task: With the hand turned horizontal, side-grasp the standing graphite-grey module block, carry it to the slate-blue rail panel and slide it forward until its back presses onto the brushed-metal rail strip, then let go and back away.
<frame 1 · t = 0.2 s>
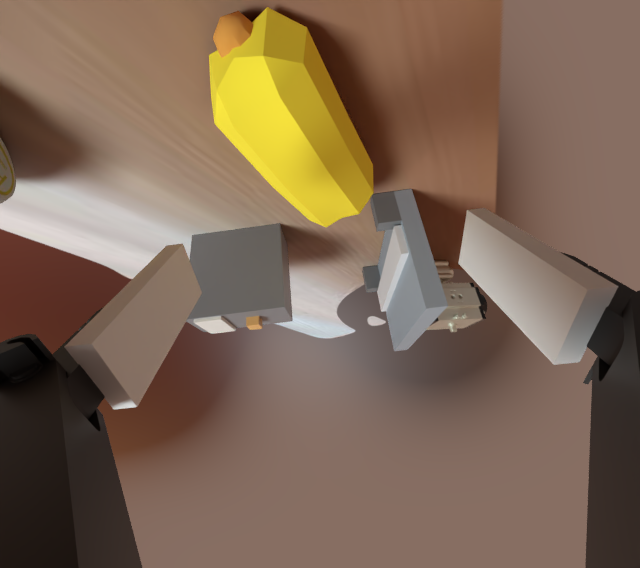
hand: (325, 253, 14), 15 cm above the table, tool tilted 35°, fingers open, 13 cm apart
pneumatic valve: (434, 262, 50), on the table
yellow faceted gourd: (302, 121, 24), on the table
rail panel: (390, 237, 41), on the table
module: (242, 240, 38), on the table
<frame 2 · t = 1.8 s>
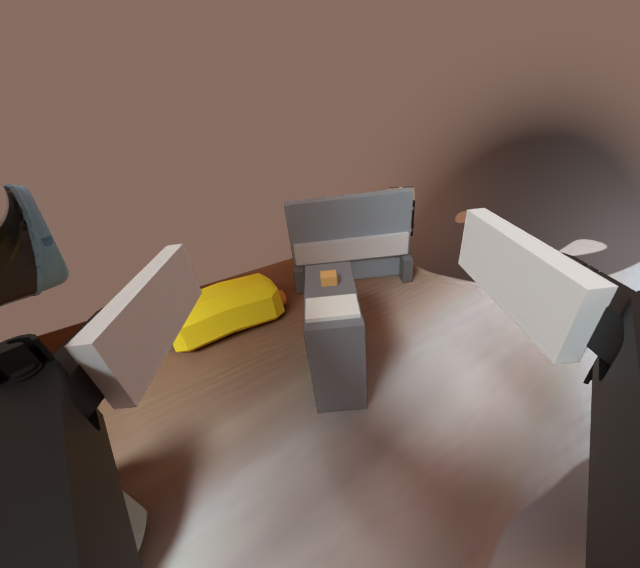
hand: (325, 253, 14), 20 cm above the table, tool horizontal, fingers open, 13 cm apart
air freshener: (82, 567, 21), on the table
pneumatic valve: (396, 249, 58), on the table
yellow faceted gourd: (232, 327, 43), on the table
rail panel: (351, 276, 50), on the table
module: (338, 368, 34), on the table
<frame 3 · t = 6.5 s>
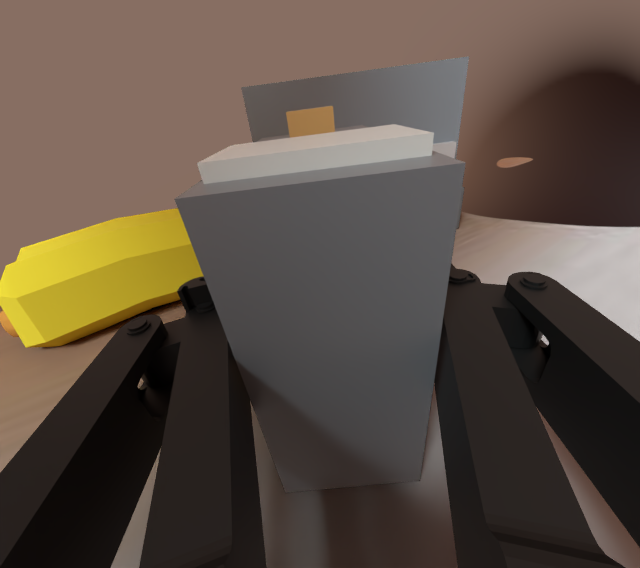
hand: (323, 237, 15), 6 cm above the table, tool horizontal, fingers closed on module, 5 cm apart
yellow faceted gourd: (154, 301, 24), on the table
rail panel: (358, 227, 32), on the table
module: (339, 370, 15), on the table, touching gripper
when the fingers open (7 cm above the table, at t = 11.4 s): module stays where it is, on the table.
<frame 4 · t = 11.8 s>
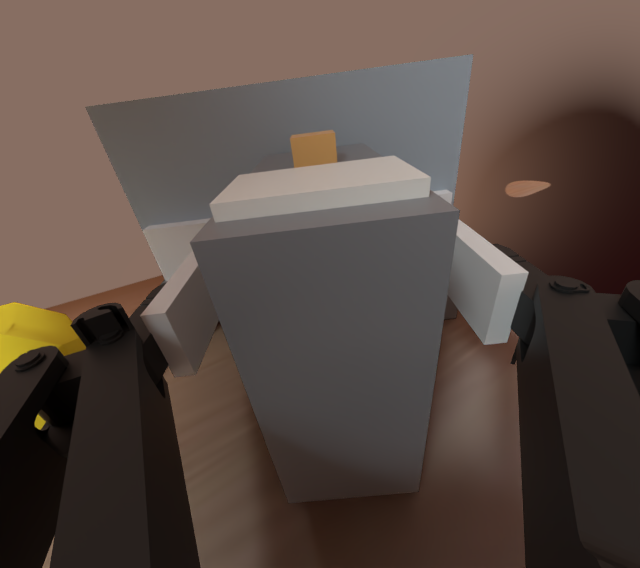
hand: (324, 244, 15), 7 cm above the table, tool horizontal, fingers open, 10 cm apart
rail panel: (311, 302, 22), on the table
module: (340, 381, 16), on the table
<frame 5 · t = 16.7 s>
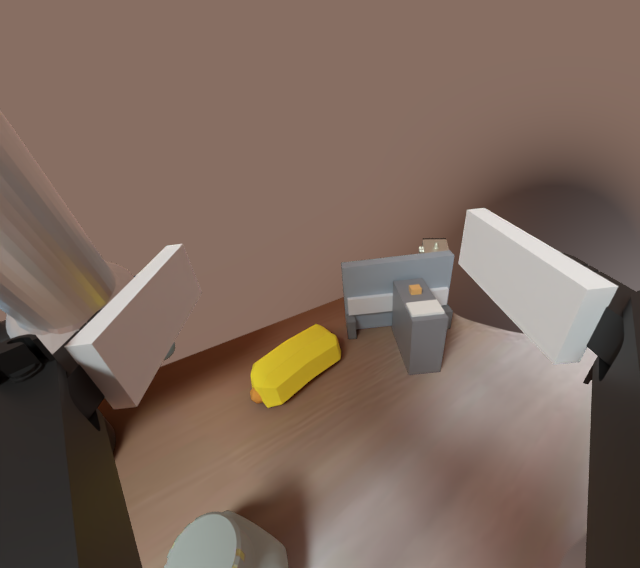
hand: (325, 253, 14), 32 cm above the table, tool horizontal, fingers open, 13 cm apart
pneumatic valve: (429, 292, 65), on the table
yellow faceted gourd: (300, 374, 49), on the table
rail panel: (394, 321, 57), on the table
module: (413, 348, 51), on the table
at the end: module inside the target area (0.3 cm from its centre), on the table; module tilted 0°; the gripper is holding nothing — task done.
